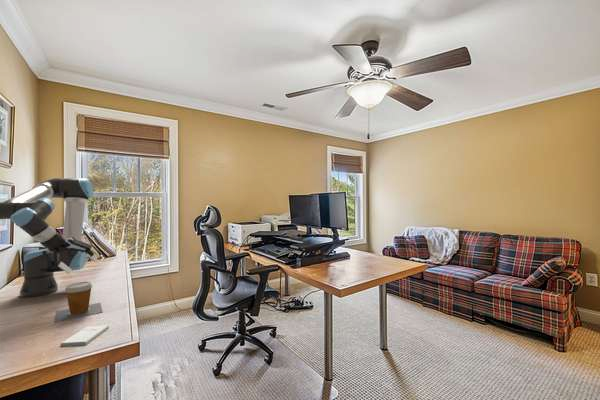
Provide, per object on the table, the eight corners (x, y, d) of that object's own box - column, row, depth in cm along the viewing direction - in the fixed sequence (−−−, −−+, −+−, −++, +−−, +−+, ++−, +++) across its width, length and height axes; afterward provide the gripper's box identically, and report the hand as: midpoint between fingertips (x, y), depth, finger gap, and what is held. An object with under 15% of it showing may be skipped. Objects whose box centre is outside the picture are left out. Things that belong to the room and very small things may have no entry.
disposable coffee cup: (97, 308, 123) (97, 282, 124) (74, 317, 114) (74, 288, 115) (83, 306, 127) (83, 280, 127) (59, 314, 118) (59, 286, 118)
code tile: (56, 311, 122) (56, 311, 122) (100, 302, 132) (100, 302, 132) (53, 322, 110) (53, 322, 110) (102, 312, 120) (102, 311, 120)
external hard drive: (60, 347, 92) (86, 330, 104) (86, 346, 93) (108, 329, 105) (60, 343, 92) (86, 326, 104) (86, 341, 93) (108, 324, 105)
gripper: (16, 254, 121) (55, 282, 133) (70, 230, 123) (104, 260, 135) (26, 243, 127) (62, 271, 139) (77, 220, 129) (109, 250, 141)
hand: (83, 266), depth 137 cm, fingers open, 13 cm apart
